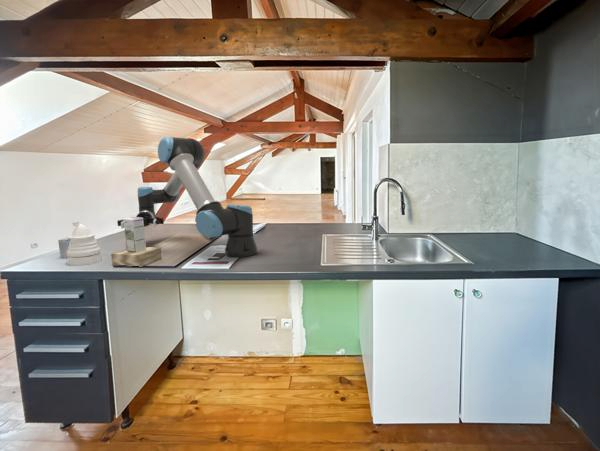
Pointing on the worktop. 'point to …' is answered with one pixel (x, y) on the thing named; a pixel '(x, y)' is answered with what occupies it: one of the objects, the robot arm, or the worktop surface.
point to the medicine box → (63, 247)
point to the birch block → (136, 257)
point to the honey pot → (82, 246)
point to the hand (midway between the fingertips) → (138, 224)
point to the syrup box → (134, 234)
